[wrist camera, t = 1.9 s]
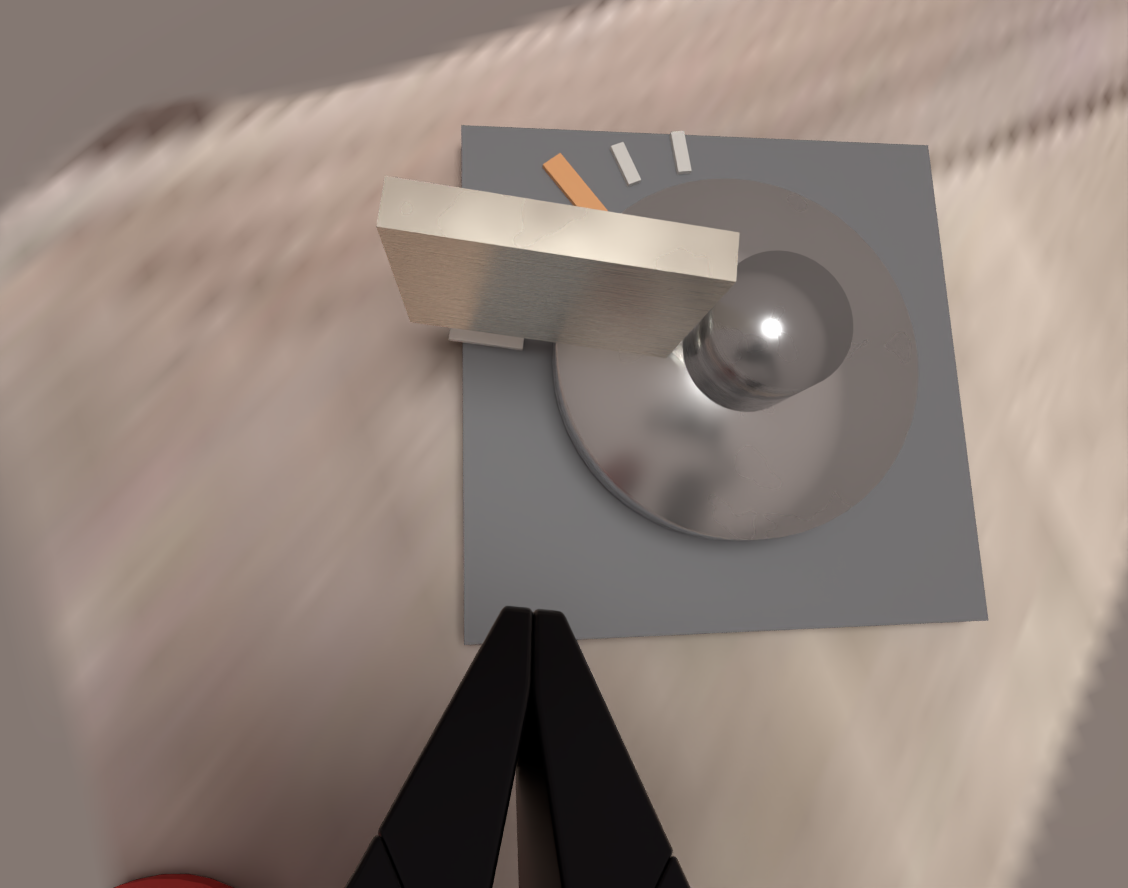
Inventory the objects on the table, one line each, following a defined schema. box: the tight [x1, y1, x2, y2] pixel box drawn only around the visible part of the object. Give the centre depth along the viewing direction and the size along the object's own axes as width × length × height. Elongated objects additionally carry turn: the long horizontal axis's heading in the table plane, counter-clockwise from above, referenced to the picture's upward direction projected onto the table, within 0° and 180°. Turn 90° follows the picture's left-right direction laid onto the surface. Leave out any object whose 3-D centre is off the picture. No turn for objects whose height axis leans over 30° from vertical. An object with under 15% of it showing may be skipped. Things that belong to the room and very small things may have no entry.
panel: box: [449, 125, 988, 645], centre depth 23 cm, size 18×18×1 cm
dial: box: [376, 176, 918, 540], centre depth 19 cm, size 16×12×8 cm
